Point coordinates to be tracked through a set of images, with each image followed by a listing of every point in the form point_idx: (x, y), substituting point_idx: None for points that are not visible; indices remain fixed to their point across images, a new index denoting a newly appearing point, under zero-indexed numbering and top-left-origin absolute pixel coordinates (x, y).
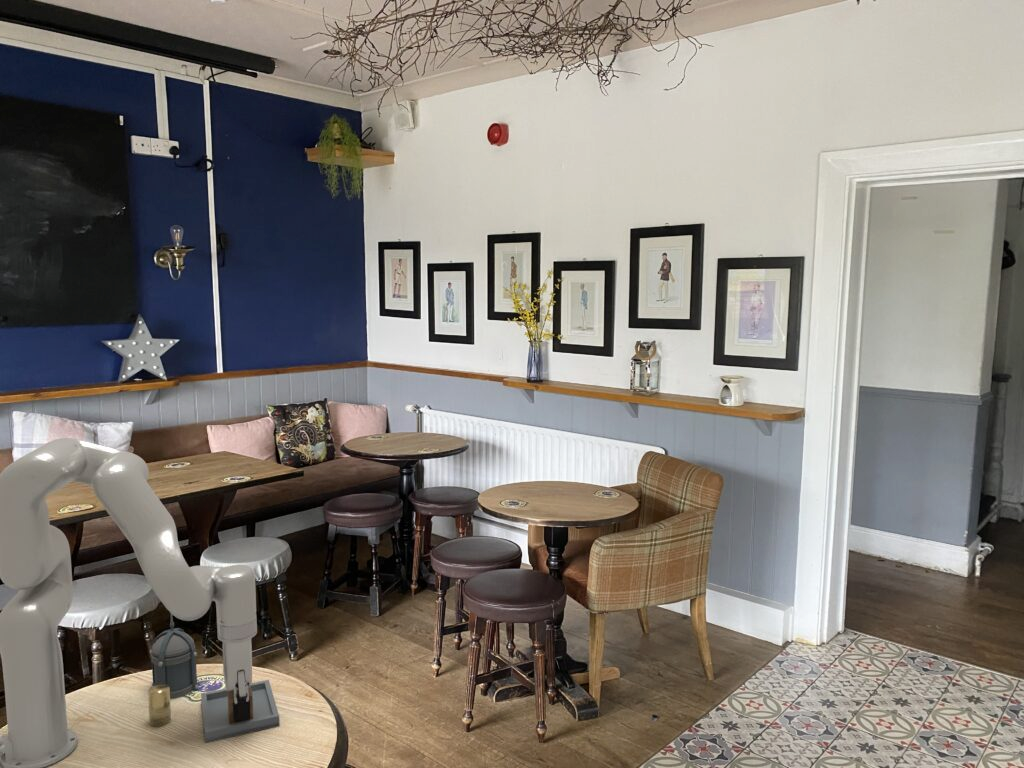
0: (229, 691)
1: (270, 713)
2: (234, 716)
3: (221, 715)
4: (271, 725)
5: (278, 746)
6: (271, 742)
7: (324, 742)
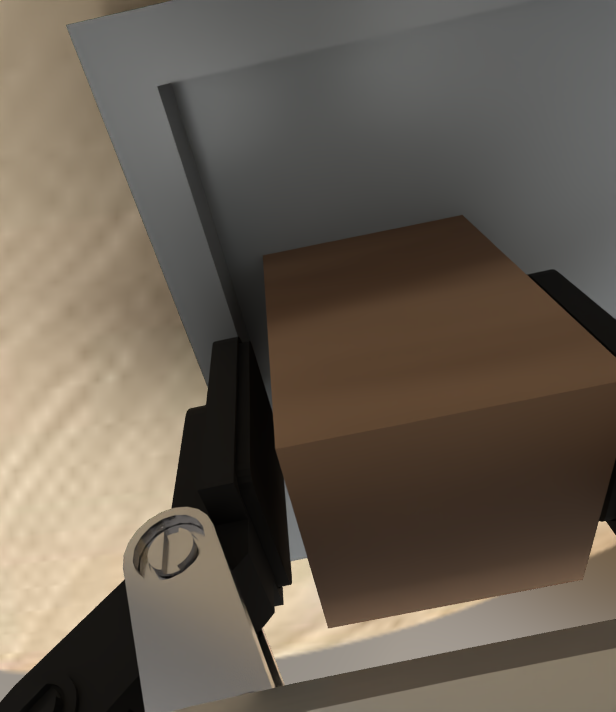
0: (559, 412)
1: None
2: (212, 378)
3: (523, 141)
4: None
5: (58, 525)
6: (101, 493)
7: None
